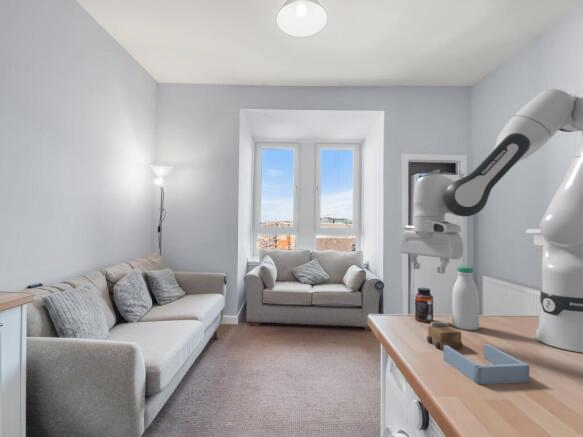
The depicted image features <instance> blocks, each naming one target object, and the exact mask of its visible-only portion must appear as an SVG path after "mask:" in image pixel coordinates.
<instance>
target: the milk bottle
mask: <svg viewBox="0 0 583 437" xmlns="http://www.w3.org/2000/svg"><path fill="white" fill-rule="evenodd" d="M456 270H457V278H456V281H455V283H454V285H453V288H452V296H451V297H452V298H451V299H452V302H451V304H452V305H451V308H452V309H451V310H452V314H451V315H452V316H451V319H452V320H451V322H452V326H453V327H454V328H457V329H461V330H465V331H478V330H479V328H480V309H479V308H480V304H479V303H480V301H479V300H480V298H479V291H478V287H477V284H476V283H475V280H474V278H473V275H474V268H473V267H471V266H465V265H464V266H462V265H461V266H457V269H456Z"/></svg>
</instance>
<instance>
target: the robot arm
mask: <svg viewBox="0 0 583 437" xmlns="http://www.w3.org/2000/svg"><path fill="white" fill-rule="evenodd" d="M558 131H561V132H564V133H565V132H567V133H572V132H581V134H582V135H581V136H583V90H580V91H577V92H575V93H567V92H566V91H564V90H562V89H557V88H556V89H555V88H553V89H547V90H544V91H542V92H540V93H539V94H538V95H535V96H534V97H533V98H532V99H531V100H529V101H528V102H527V103H526V104H525V105H524V106H523V107H522V108H521V109H519V110H518V111H517V112H516V113H515V115H513V116H512V117H511V118H510V120H508V122H506V124H505V126H503V128H502V129H501V131H500V132H499V134H498V136H497V137H496V140H495V141H496V142H495V146H494V148H493V150H491V152H490V153H489V154H488V156H487V157H486V158H484V159H483V160H482V161H481V162H480V164H479V165H478V166H477V167H476V168H475V169H474V170H473V171H472V172H471V173H469V174H468V175H466V176H464V177H461V178H460V179H457V180H453V179H451V178H449V177H447V176H445V175H443V174H442V173H439V172H438V173H437V172H434V173H428V174H425V175H422V176H420V177H419V178H418V179H417V180H416V181H415V184H414V191H413V205H414V212H413V225H406V226H405V227H403V229H402V230H401V237H400V243H399V250H400V252H401V254H405V255H409V259H410V261H411V263H412V269H414V270H420V269H421V263H419V262H418V259H417V258H418V257H419V256H420V257H422V256H423V257H430V258H438V259H439V260H440V261H439V262H441V263H440V265H439V266H437V267H436V269H437V271H436V272H437V274H446V268H447V266H448V264H449V263H450V260H460V259H461V258H462V257H463V256H464V248H463V239H462V238H463V237H462V236H461V235H460V233H461V231H462V227H461V225H459V224H455V223H453V222H450V221H447V220H446V218H445V216H446V214H450V215H453V216H458V217H470V216H474V215H476V214H478V213H480V212H481V211H482V210H483V209H484V208H485V206H486V205H487V203H488V200H489V197H490V193H491V191H492V189H493V188H494V186H496V185H497V184H498V183H499V182H500V180H502V178H503V177H504V176H505V175H506V174H507V173H508V172H510V170H511V169H512V168H513V167H514V166H515V165H516V164H517V163H519V162H520V161H522V160H524V159H528V158H529V157H530V156H532V155H533V154H535V153H536V152H537V151H539V150H540V149H541V148H542V147H543V146H544V145H545V144H546V143H548V142H549V140H551V139H552V137H554V135H556V133H557V132H558ZM539 230H540V233H541V235H542V237H543V238H542V239H543V240H542V260H541V289H542V290H540V292H539V293H540V295H539V298H540V300H539V303H540V304H541V308H540V309H539V310H540V312H539V318H538V326H537V328H536V330H535V333H536V335H535V339H537V340H538V341H540V342H541V343H543V344H545V345H548V346H552V347H555V348H559V349H563V350H567V351H572V352H577V353H582V354H583V139H582V141H581V145H580V147H579V148H578V149H577V152H576V153H575V155H574V158H573V159H572V162H571V164H570V165H569V167H568V169H567V171H566V173H565V176H564V178H563V180H562V181H561V183H560V186H559V187H558V189H557V190H556V193H555V194H554V196H553V198H552V200H551V202H550V203H549V205H548V207H547V209H546V210H545V213H544V214H543V216H542V218H541V220H540V223H539Z"/></svg>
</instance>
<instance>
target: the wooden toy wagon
mask: <svg viewBox="0 0 583 437" xmlns="http://www.w3.org/2000/svg"><path fill="white" fill-rule="evenodd" d="M429 323H430V324H429V325H428V327H427V329H428V330H427V332H428V333H427V337H426V340H427V341H426V342H427V343H429V344H431V345H434V347H435V348H436V349H439V350H443V345H448V346H449V347H451V348H452V349H454V350H461V349H462V348H463V346H464V345H463V342H462V331H459V330H458V329H456V328H455V327H452V326H450V325H449V322H447V321H432V322H429Z"/></svg>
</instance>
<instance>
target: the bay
mask: <svg viewBox="0 0 583 437" xmlns="http://www.w3.org/2000/svg"><path fill="white" fill-rule="evenodd" d="M442 350H443V361H445V362H446V363H448V364H449V365H450V366H451V367H454V369H456V370H457V371H459V372H460V373H462V374H463V375H464V376H466V377H467V378H469V379H470V380H471V381H473V382H474V383H475V384H476V385H487V384H488V385H489V384H507V383H508V384H511V383H530V365H529V364H528V363H525V362H524V361H521V360H520V359H517V358H516V357H514V356H512V355H510V354H508V353H506V352H505V351H504V352H503V351H502V350H500V349H499V348H496V347H494V346H492V345H490V344H488V343H484V344H483V354H484V355H483V357H484V359H485V360H487V361H489V362H490V363H492V364H477V363H476V362H475V361H473V360H471V359H469V358H468V357H466V356H465V355H464V354H462V353H460V352H459V351H457V350H456V349H452V348H451V347H449V346H448V345H443V349H442Z"/></svg>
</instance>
